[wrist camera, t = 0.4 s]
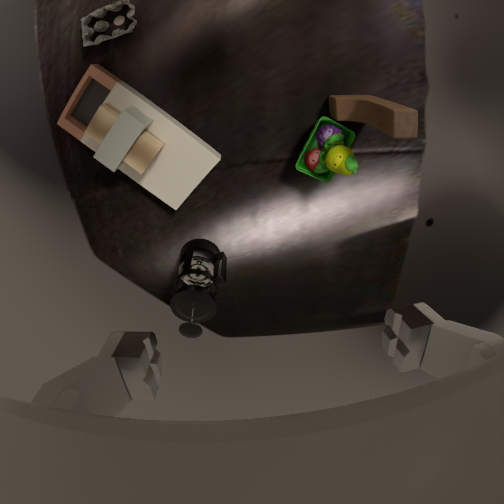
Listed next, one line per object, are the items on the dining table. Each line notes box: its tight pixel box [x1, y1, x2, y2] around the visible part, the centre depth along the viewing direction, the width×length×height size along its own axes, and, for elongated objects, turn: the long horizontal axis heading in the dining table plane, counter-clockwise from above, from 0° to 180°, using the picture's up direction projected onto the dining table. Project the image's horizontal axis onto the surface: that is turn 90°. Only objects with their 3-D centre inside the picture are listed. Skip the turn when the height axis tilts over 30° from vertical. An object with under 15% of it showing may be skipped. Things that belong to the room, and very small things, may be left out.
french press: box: [170, 239, 227, 338], centre depth 60 cm, size 12×9×23 cm
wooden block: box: [329, 95, 418, 138], centre depth 43 cm, size 9×4×18 cm, turn 98°
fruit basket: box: [296, 117, 358, 183], centre depth 51 cm, size 11×9×11 cm
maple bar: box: [84, 102, 165, 174], centre depth 47 cm, size 6×14×4 cm, turn 47°
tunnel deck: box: [57, 64, 221, 210], centre depth 48 cm, size 14×32×8 cm, turn 47°
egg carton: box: [81, 0, 137, 46], centre depth 36 cm, size 11×8×4 cm
